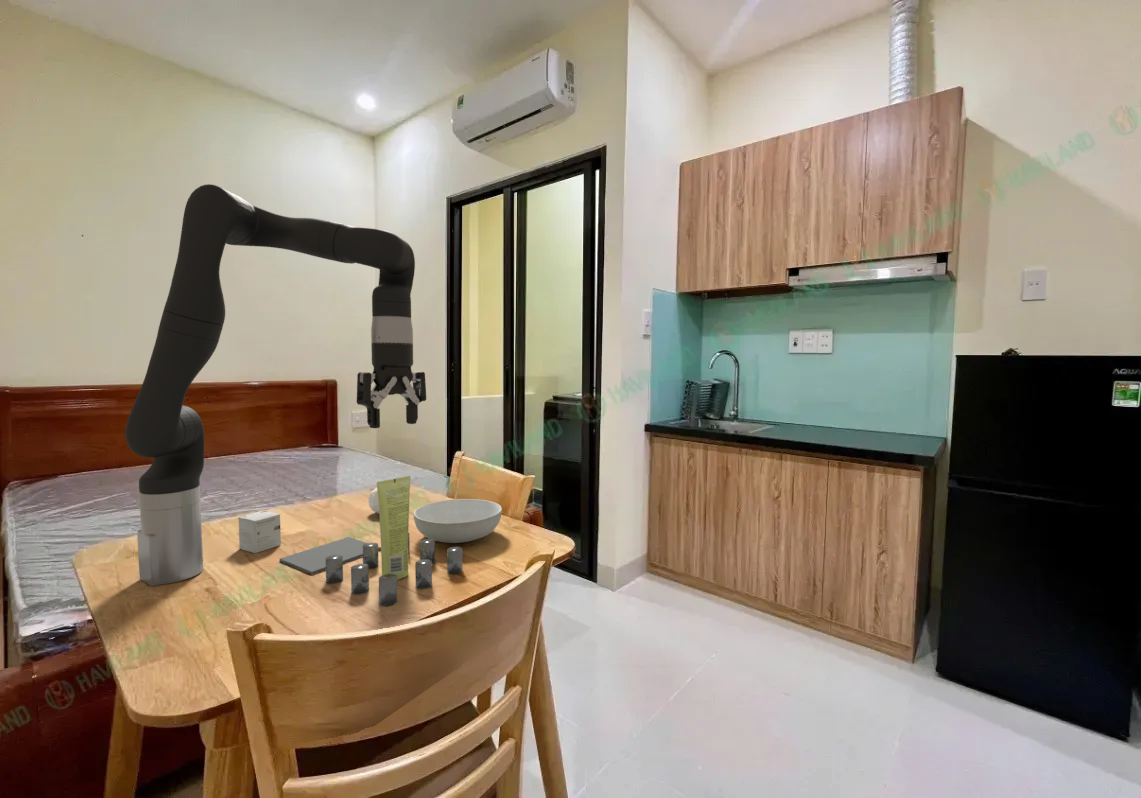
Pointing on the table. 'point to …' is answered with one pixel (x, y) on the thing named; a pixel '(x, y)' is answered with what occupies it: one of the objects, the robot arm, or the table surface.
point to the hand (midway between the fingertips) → (393, 425)
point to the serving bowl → (457, 519)
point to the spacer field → (390, 580)
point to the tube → (394, 525)
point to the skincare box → (259, 531)
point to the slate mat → (325, 555)
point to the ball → (374, 501)
